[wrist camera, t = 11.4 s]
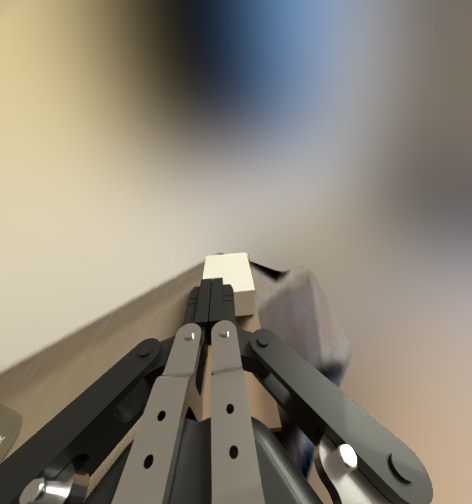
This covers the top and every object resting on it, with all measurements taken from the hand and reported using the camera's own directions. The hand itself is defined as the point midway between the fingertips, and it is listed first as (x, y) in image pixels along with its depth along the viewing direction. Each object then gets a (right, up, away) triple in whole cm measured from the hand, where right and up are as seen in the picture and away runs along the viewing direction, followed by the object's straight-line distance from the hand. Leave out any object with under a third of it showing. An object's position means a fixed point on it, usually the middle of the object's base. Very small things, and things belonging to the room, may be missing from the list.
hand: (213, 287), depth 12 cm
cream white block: (0, -8, +25) cm, 26 cm away
